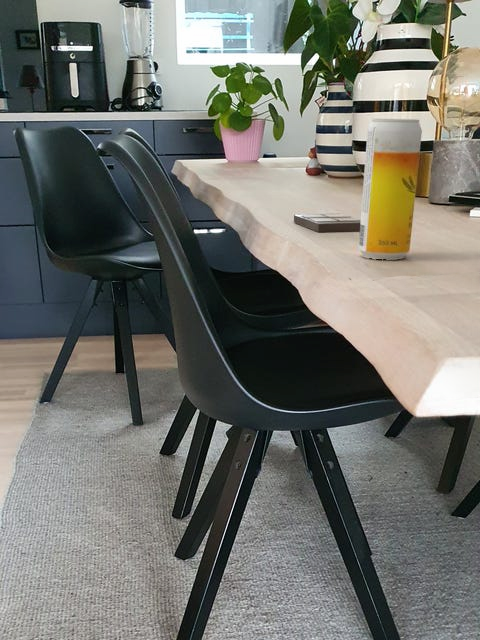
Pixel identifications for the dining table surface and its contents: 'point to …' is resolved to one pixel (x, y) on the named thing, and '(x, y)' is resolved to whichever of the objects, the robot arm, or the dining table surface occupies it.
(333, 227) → the grey grid tile
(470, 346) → the dining table surface
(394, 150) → the beer can
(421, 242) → the dining table surface
